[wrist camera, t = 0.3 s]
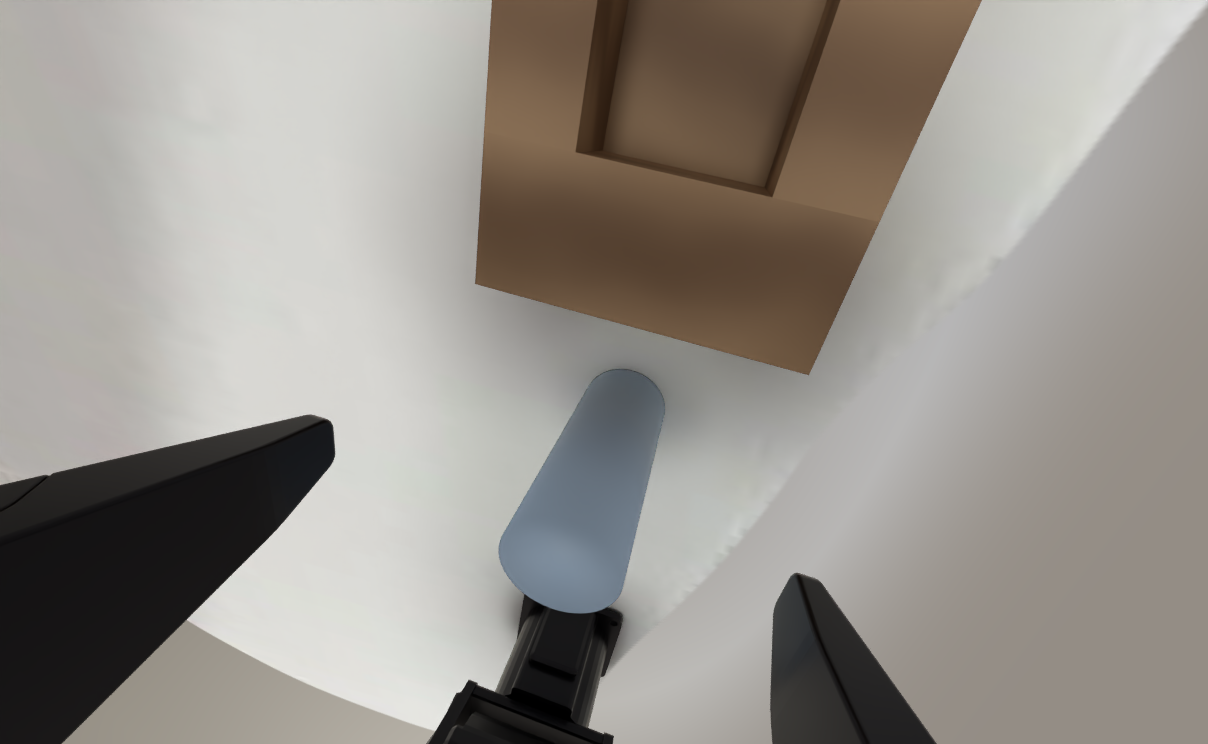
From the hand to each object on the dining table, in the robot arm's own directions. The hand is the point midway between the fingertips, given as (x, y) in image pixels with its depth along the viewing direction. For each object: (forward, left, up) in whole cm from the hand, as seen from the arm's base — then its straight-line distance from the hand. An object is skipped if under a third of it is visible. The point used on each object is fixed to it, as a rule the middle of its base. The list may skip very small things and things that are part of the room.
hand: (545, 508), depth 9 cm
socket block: (+8, 0, -13) cm, 16 cm away
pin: (-6, 0, -13) cm, 15 cm away
